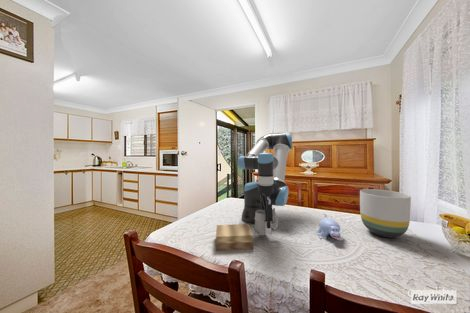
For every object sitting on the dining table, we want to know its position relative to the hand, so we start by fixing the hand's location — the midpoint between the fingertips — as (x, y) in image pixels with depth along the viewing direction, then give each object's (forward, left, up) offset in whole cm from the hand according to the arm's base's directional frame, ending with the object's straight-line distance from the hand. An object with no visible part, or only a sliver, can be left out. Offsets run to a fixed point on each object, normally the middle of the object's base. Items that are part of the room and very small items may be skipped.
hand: (265, 230), depth 86 cm
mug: (0, 0, -1) cm, 1 cm away
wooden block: (+16, +4, -4) cm, 17 cm away
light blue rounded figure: (-32, +3, -4) cm, 32 cm away
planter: (-61, +3, -4) cm, 61 cm away
